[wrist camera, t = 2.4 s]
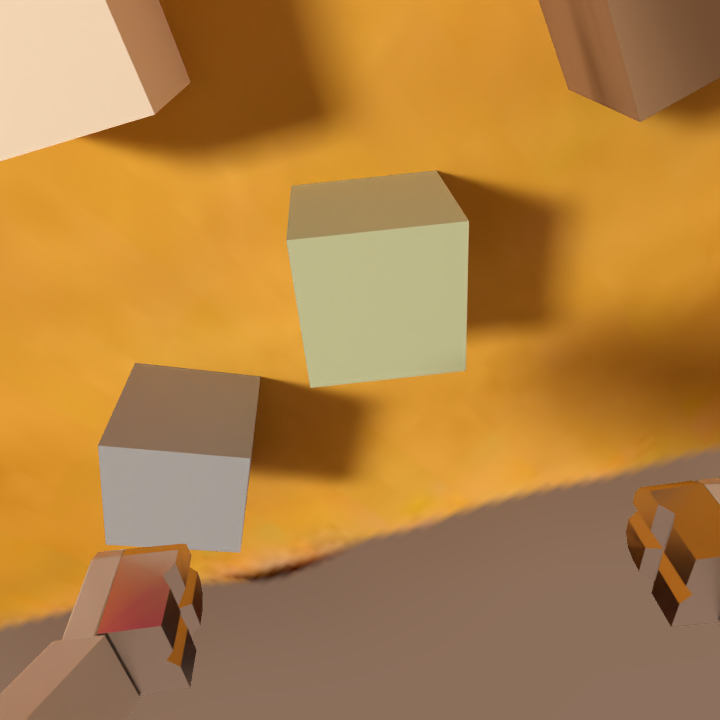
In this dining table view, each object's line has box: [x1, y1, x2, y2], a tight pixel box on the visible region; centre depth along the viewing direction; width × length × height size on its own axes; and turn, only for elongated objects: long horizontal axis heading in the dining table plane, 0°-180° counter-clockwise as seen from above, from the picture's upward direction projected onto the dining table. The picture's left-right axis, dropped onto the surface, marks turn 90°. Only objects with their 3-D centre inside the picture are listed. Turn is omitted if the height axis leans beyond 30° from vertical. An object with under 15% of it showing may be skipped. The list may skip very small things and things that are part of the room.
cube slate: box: [98, 363, 260, 552], centre depth 23 cm, size 5×5×5 cm
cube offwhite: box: [0, 0, 191, 161], centre depth 15 cm, size 5×5×5 cm
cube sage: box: [286, 171, 469, 388], centre depth 19 cm, size 5×5×5 cm
